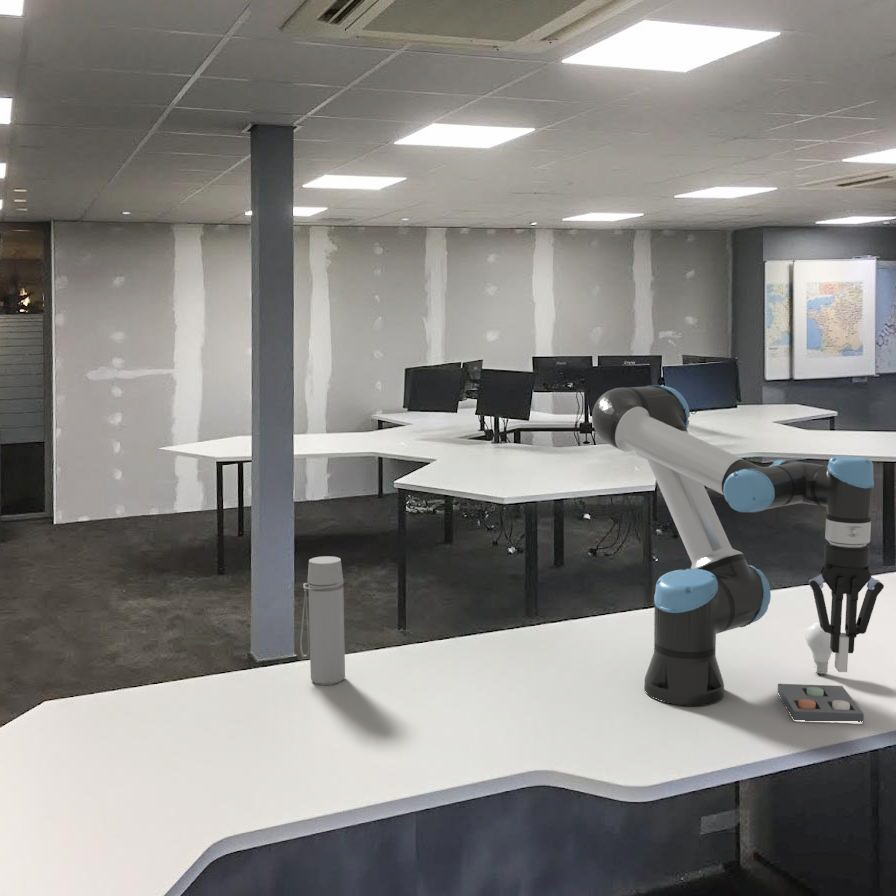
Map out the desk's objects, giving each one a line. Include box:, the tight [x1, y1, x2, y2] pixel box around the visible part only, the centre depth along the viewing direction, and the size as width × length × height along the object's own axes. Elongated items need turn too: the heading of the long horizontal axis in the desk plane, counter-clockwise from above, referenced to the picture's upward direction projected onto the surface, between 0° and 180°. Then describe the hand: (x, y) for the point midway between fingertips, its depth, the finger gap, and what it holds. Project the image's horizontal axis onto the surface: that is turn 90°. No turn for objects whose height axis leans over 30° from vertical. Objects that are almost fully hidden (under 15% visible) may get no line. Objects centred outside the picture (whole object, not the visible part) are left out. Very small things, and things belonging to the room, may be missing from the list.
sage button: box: [807, 687, 824, 696], centre depth 188 cm, size 3×3×2 cm
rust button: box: [798, 699, 816, 709], centre depth 182 cm, size 3×3×2 cm
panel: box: [777, 683, 865, 722], centre depth 185 cm, size 12×14×2 cm
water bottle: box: [299, 555, 346, 686], centre depth 201 cm, size 9×8×25 cm
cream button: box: [832, 700, 850, 710], centre depth 181 cm, size 3×3×2 cm
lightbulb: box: [805, 621, 833, 675], centre depth 203 cm, size 6×6×11 cm
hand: (840, 669), depth 181 cm, fingers closed
